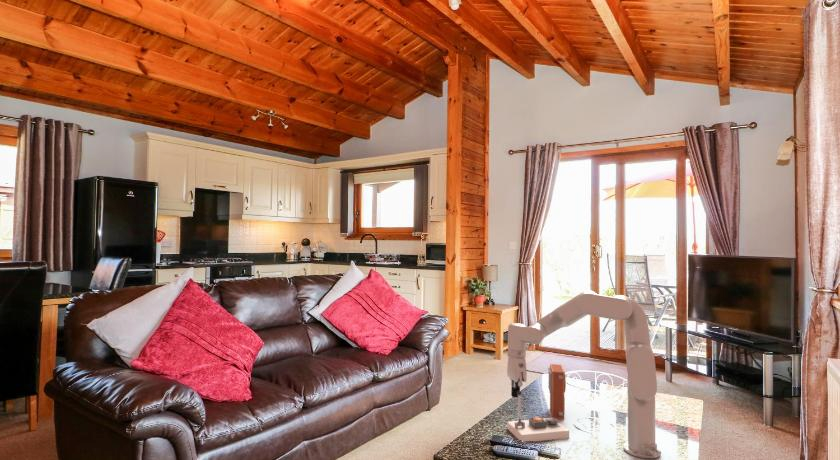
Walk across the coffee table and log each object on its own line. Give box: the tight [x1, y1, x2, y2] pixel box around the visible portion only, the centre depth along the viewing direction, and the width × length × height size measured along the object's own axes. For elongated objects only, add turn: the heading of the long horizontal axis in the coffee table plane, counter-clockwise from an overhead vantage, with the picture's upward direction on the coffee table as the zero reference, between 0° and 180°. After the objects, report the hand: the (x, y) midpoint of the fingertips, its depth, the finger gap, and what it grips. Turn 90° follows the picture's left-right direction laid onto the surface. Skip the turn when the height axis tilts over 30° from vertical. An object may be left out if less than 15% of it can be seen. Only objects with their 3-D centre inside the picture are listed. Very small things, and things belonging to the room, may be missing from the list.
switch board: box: [506, 416, 570, 443], centre depth 194 cm, size 14×21×6 cm, turn 103°
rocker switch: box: [547, 419, 559, 424], centre depth 195 cm, size 4×3×1 cm
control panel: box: [547, 363, 567, 420], centre depth 216 cm, size 21×7×15 cm
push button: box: [532, 416, 543, 422], centre depth 194 cm, size 4×4×2 cm
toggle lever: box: [517, 389, 523, 426], centre depth 193 cm, size 2×2×14 cm
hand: (515, 396), depth 196 cm, fingers closed
